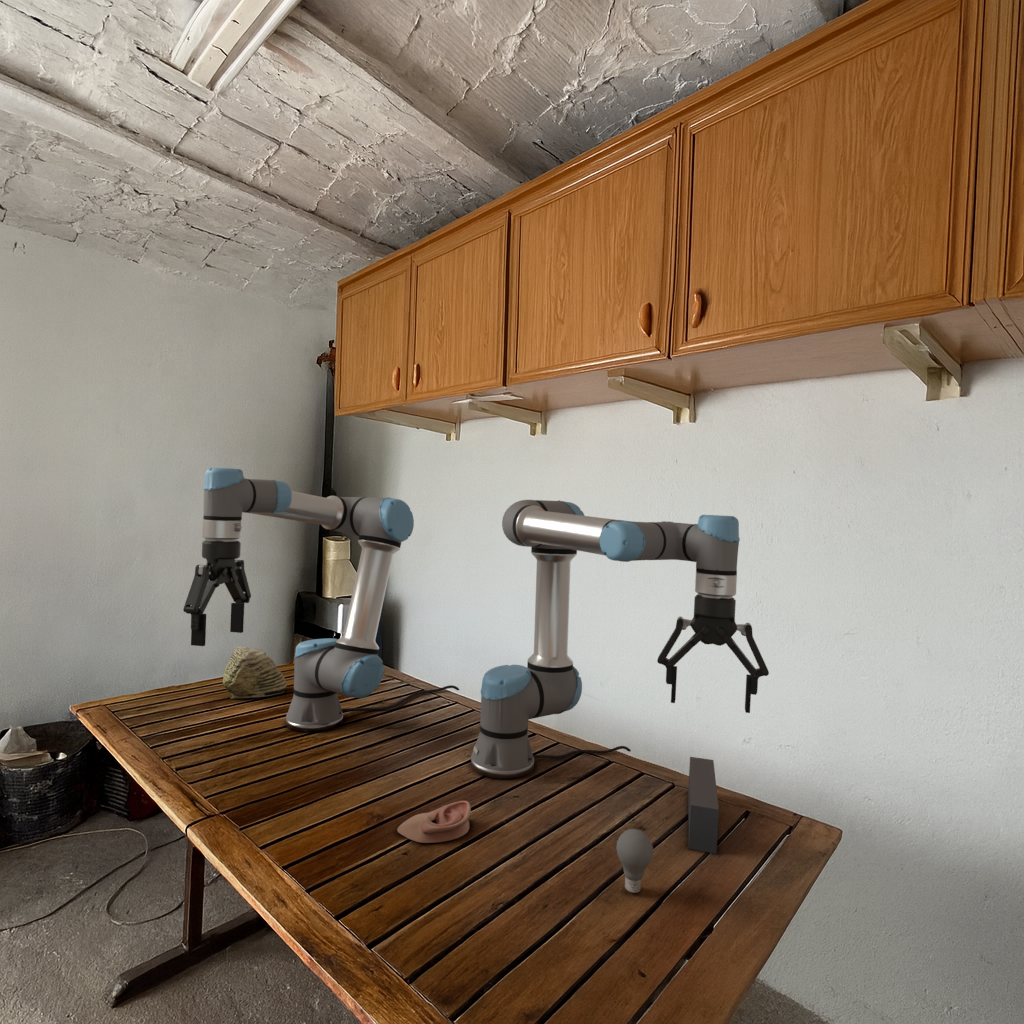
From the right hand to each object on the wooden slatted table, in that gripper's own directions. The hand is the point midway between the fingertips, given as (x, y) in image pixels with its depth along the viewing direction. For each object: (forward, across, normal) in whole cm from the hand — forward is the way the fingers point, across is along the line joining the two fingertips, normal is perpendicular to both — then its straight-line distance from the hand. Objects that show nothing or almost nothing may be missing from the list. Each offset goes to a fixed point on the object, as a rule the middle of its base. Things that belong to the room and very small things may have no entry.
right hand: (709, 706), depth 122 cm
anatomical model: (+27, -50, -15) cm, 58 cm away
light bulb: (+27, -11, -20) cm, 35 cm away
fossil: (+27, -135, +38) cm, 143 cm away
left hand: (-5, -101, -16) cm, 103 cm away
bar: (+27, 0, +9) cm, 28 cm away
